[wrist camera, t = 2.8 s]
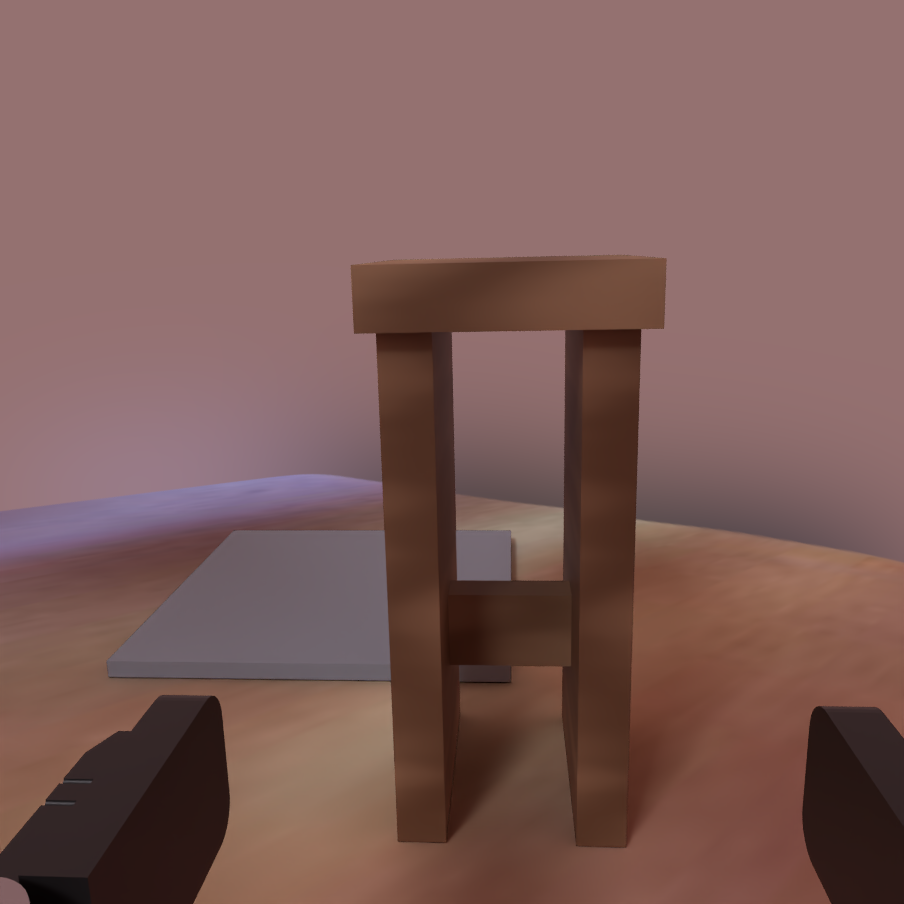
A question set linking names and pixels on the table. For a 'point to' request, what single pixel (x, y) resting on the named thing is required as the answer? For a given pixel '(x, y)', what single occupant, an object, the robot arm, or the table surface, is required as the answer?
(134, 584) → the table surface
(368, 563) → the mat
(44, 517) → the table surface
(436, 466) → the stool
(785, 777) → the table surface
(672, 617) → the table surface
